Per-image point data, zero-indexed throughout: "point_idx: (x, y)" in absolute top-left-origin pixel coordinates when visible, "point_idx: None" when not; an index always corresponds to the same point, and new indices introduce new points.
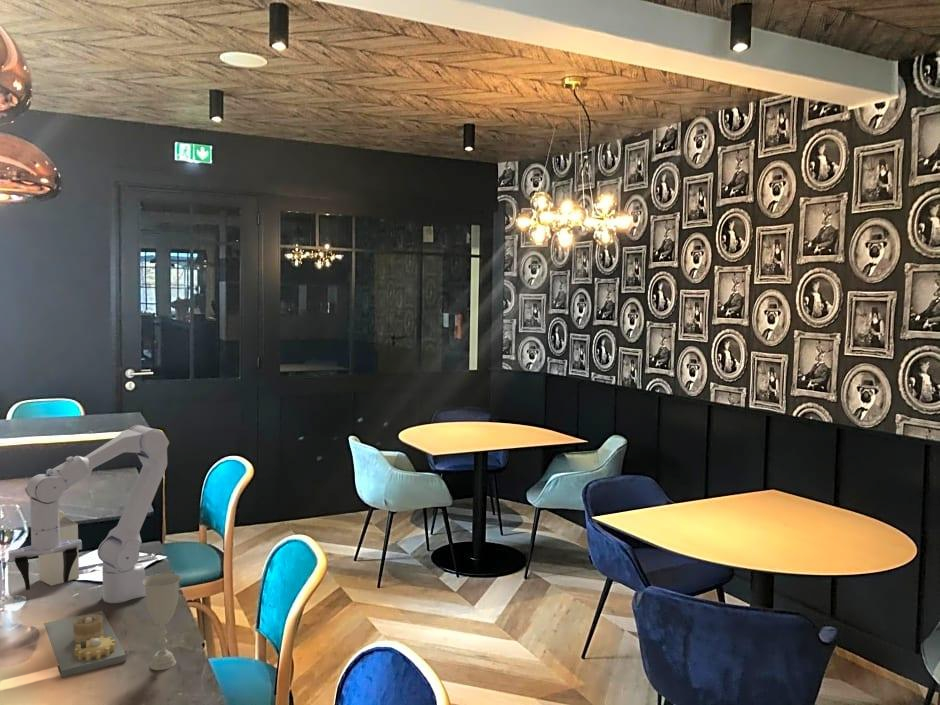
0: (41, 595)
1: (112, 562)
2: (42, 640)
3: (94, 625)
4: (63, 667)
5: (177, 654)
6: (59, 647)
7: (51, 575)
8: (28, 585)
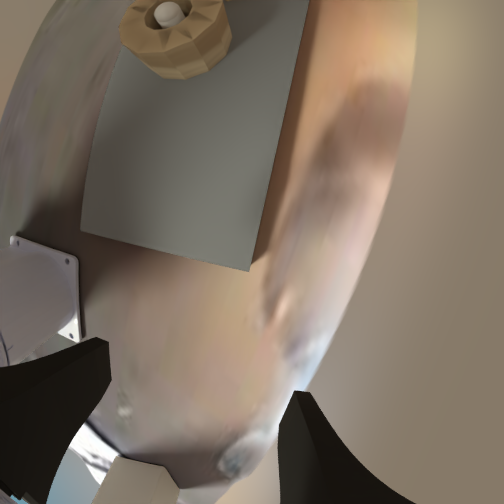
0: (190, 453)
1: None
2: (286, 180)
3: None
4: None
5: None
6: (282, 36)
7: (158, 483)
8: (306, 407)
